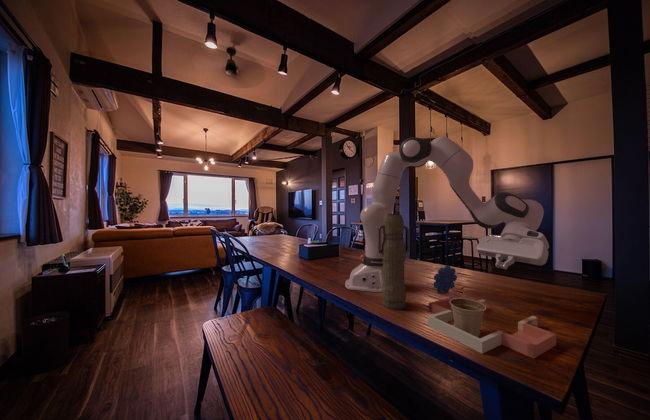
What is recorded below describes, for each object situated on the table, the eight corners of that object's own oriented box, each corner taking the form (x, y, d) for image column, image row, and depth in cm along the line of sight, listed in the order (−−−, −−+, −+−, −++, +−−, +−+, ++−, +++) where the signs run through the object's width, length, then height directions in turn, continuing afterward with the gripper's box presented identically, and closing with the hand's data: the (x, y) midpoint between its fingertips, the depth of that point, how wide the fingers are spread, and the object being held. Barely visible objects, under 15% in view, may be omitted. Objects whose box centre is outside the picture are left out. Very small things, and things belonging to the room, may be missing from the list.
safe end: (448, 318, 80) (448, 309, 80) (504, 343, 65) (504, 332, 65) (427, 325, 75) (427, 316, 75) (482, 353, 60) (482, 342, 60)
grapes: (449, 288, 109) (449, 262, 109) (460, 293, 103) (460, 265, 103) (427, 290, 106) (427, 264, 106) (437, 296, 100) (437, 267, 100)
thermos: (414, 308, 88) (413, 213, 88) (383, 310, 86) (382, 214, 86) (403, 299, 97) (403, 213, 96) (375, 301, 95) (374, 213, 95)
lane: (482, 307, 88) (482, 299, 88) (537, 326, 74) (537, 317, 74) (467, 312, 84) (467, 304, 84) (522, 334, 70) (522, 323, 70)
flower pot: (492, 343, 65) (492, 312, 65) (455, 339, 67) (455, 309, 67) (478, 326, 74) (478, 299, 74) (445, 324, 76) (445, 297, 76)
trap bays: (451, 304, 91) (451, 296, 91) (556, 345, 64) (556, 333, 64) (428, 311, 85) (428, 303, 85) (533, 358, 58) (533, 346, 58)
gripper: (482, 228, 94) (466, 255, 89) (549, 234, 76) (533, 268, 71) (488, 239, 96) (473, 266, 92) (555, 247, 78) (540, 281, 73)
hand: (500, 267), depth 81 cm, fingers closed
